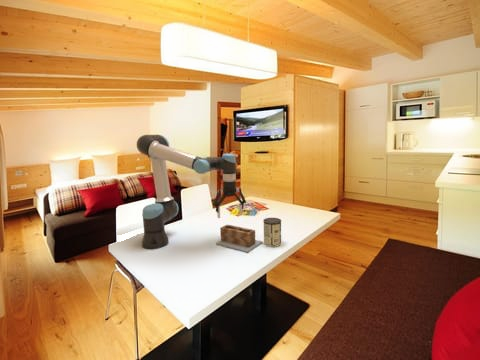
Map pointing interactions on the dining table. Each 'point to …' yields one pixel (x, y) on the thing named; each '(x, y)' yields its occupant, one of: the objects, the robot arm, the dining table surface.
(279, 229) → the coffee can
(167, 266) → the dining table surface
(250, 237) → the wooden hollow block
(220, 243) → the peg board
